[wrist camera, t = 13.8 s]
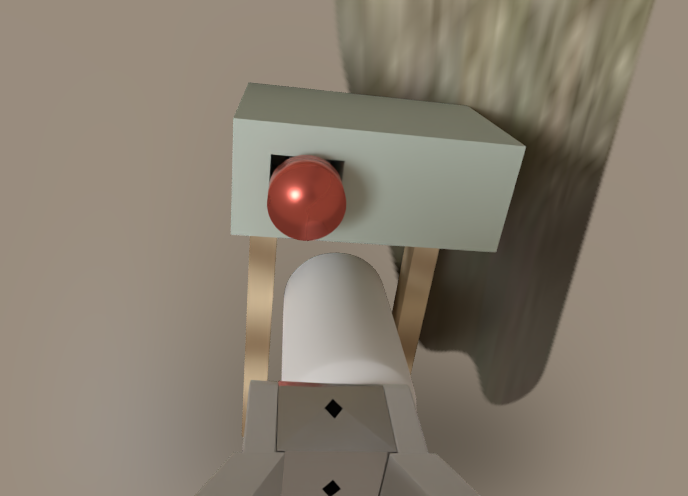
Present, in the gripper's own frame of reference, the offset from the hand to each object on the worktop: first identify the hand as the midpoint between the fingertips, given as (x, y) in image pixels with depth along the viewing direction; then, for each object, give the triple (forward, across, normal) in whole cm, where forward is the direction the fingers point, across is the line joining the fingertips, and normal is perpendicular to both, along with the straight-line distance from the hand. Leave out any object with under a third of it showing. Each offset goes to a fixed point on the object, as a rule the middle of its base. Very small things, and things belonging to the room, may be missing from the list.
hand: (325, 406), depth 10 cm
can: (+21, -3, +11) cm, 24 cm away
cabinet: (+21, -3, +1) cm, 21 cm away
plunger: (+18, 0, +1) cm, 18 cm away
